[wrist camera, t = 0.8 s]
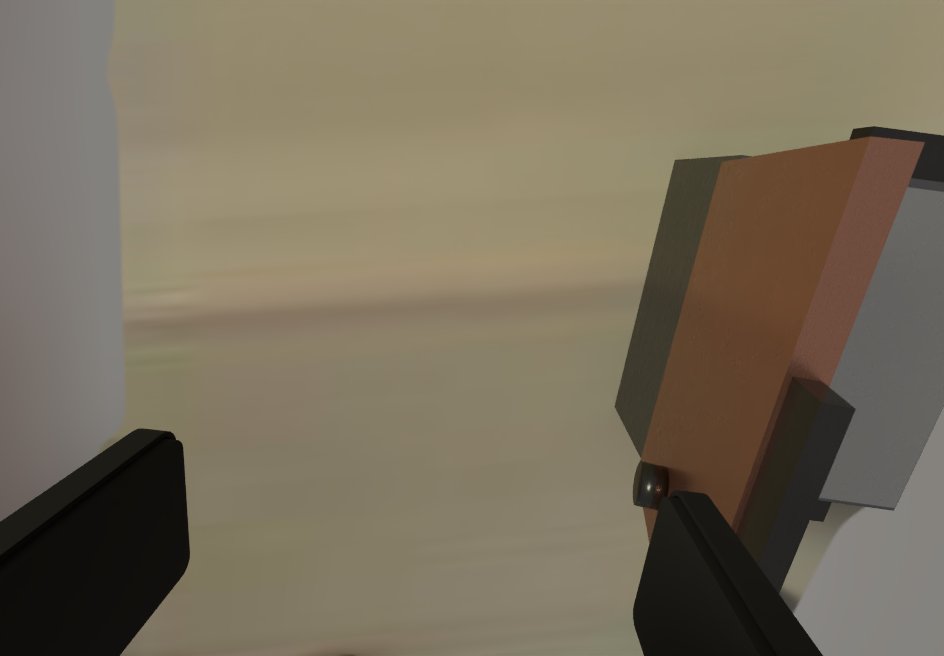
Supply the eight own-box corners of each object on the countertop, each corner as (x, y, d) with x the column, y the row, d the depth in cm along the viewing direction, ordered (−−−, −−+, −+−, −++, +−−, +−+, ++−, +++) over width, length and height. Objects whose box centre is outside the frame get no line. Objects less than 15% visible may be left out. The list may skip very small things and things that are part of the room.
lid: (753, 166, 25) (695, 159, 26) (1008, 137, 10) (855, 122, 11) (663, 475, 31) (617, 464, 32) (738, 752, 16) (647, 724, 16)
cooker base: (683, 124, 34) (760, 104, 24) (916, 156, 34) (1089, 149, 24) (608, 431, 42) (643, 512, 32) (799, 457, 42) (894, 546, 32)
